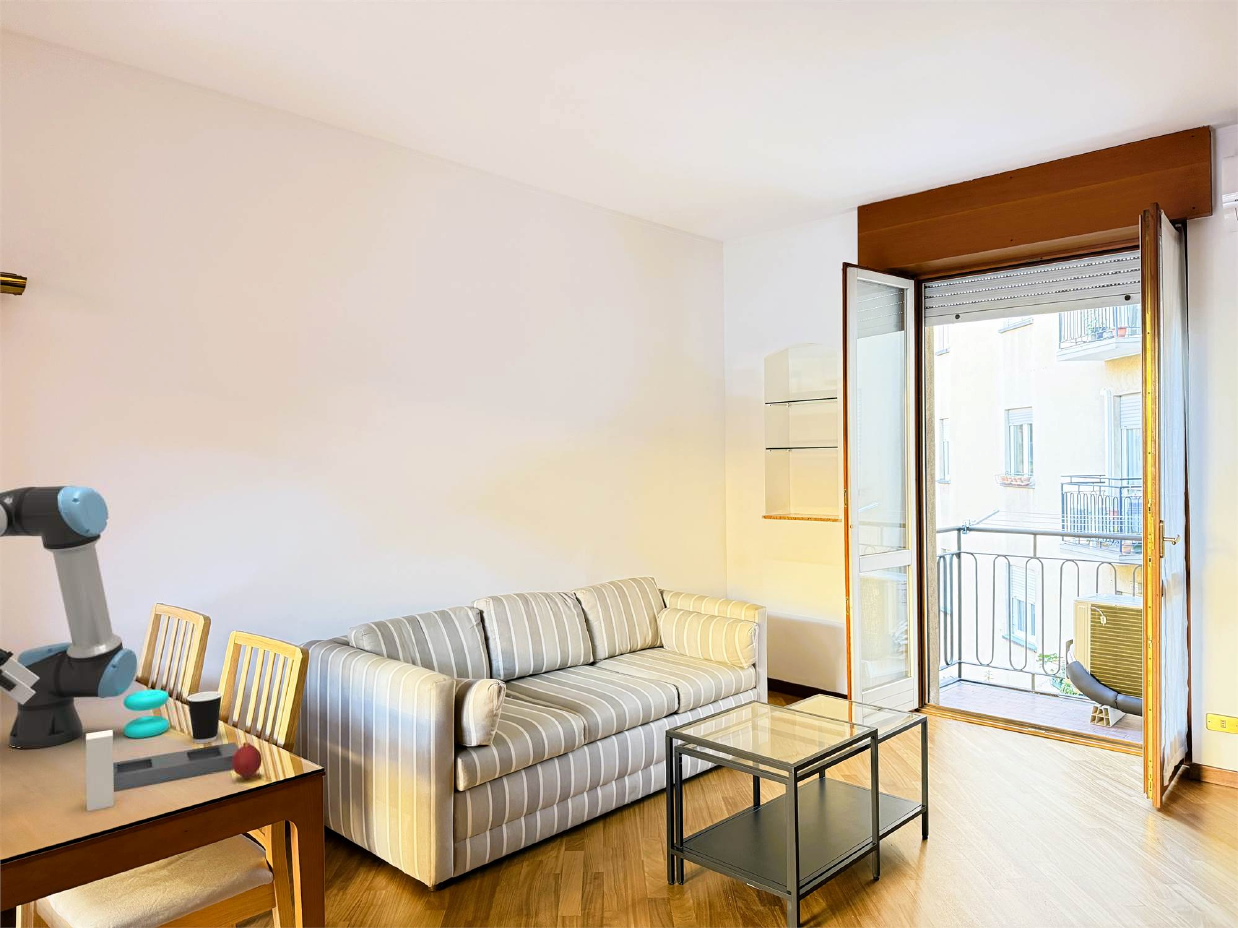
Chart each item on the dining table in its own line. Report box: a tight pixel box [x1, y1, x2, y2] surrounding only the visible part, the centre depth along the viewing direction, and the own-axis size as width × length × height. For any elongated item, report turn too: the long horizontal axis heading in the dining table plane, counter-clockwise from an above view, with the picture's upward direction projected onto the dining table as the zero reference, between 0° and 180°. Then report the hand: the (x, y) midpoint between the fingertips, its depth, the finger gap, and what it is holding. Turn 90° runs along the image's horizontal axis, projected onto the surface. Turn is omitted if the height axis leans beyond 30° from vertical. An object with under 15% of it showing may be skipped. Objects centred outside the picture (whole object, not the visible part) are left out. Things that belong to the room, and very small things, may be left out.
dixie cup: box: [186, 691, 223, 744], centre depth 208 cm, size 8×8×11 cm
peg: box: [85, 729, 115, 812], centre depth 168 cm, size 4×4×14 cm
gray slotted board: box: [113, 741, 240, 792], centre depth 185 cm, size 28×10×3 cm, turn 122°
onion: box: [232, 741, 263, 780], centre depth 181 cm, size 6×6×8 cm
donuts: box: [123, 689, 170, 739], centre depth 214 cm, size 10×10×10 cm
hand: (31, 690), depth 162 cm, fingers open, 13 cm apart
